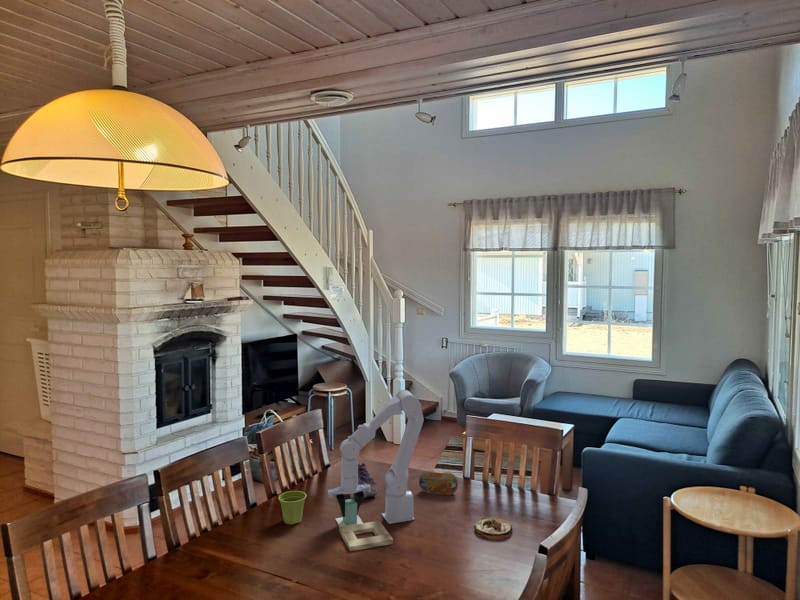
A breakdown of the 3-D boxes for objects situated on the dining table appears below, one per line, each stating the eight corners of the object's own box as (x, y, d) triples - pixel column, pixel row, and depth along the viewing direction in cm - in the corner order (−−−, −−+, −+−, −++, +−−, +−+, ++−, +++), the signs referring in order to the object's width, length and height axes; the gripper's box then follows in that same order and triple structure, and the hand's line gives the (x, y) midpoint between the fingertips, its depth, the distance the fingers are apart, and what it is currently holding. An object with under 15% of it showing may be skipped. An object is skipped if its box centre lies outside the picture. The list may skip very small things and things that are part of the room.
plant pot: (300, 528, 186) (300, 502, 186) (274, 525, 188) (274, 500, 188) (310, 516, 195) (310, 491, 195) (285, 513, 197) (285, 489, 197)
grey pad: (357, 516, 195) (357, 514, 195) (364, 525, 188) (364, 524, 188) (335, 519, 193) (335, 518, 193) (341, 529, 185) (341, 528, 185)
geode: (339, 483, 226) (342, 459, 226) (367, 485, 229) (370, 460, 229) (347, 501, 206) (350, 474, 206) (377, 502, 209) (381, 476, 209)
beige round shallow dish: (522, 528, 187) (522, 516, 187) (506, 547, 174) (506, 534, 174) (481, 518, 195) (481, 506, 194) (463, 535, 182) (463, 523, 182)
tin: (418, 492, 217) (418, 471, 216) (420, 489, 220) (420, 468, 219) (457, 497, 212) (457, 475, 212) (458, 493, 215) (458, 472, 215)
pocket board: (379, 524, 189) (379, 520, 189) (393, 543, 176) (393, 539, 176) (338, 531, 184) (338, 527, 184) (350, 551, 171) (350, 546, 171)
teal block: (353, 518, 193) (354, 498, 192) (357, 523, 189) (357, 503, 188) (342, 519, 191) (342, 500, 191) (345, 525, 187) (345, 504, 187)
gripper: (366, 468, 196) (366, 506, 196) (325, 474, 191) (326, 512, 191) (372, 475, 189) (372, 515, 190) (330, 481, 184) (330, 521, 185)
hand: (349, 514), depth 190 cm, fingers closed on teal block, 4 cm apart
